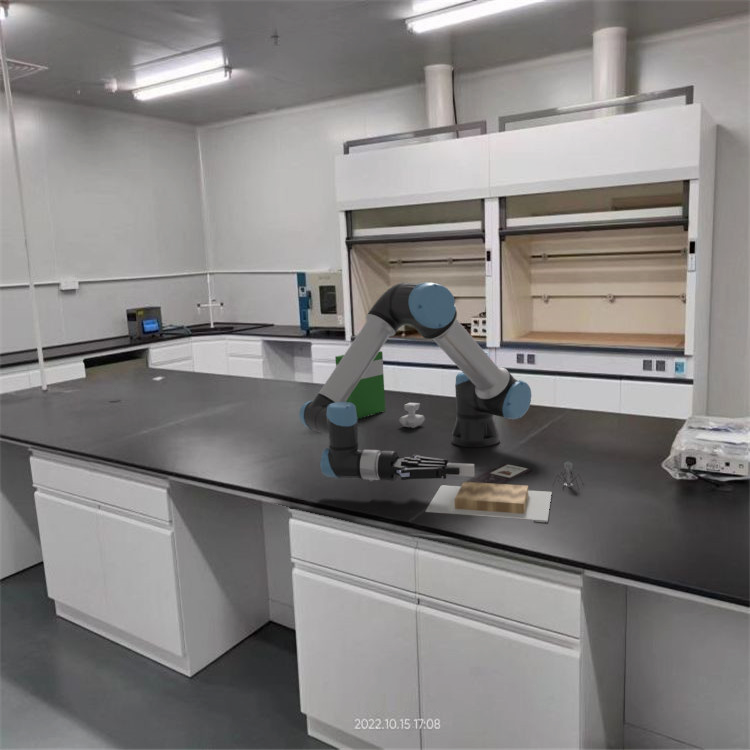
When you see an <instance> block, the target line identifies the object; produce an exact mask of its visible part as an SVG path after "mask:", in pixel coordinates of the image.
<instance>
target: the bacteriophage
mask: <svg viewBox="0 0 750 750" xmlns="http://www.w3.org/2000/svg"><path fill="white" fill-rule="evenodd" d="M563 468H564V469H566V471H564V473H563V472H562V471H560V473H559V474H557V475H556V478H555V480H554V482H553V483H552V486H554V484H555V483H556V480H557V478H558V480H557V482H559V481H560V479H561V480H562V481H563V485H564V486H563V487H562V490H564V487H565V486H566V487H565V488H571V487H570V486H573V485H574V484H573V482H574V480H575V482H576V485H577V489H578V491H580V488H579V485H578V481H577V477H578V476H580V474H579V473H578V474H577V476H574V474H573V471H571V470H572V469H573V463H572V462H570V461H566V462H564V466H563ZM565 474H566V477H565ZM561 476H562V477H563V478H562V477H561ZM573 476H574V477H573ZM571 478H572V480H571ZM579 478H580V481H581V482H582V485H583V486H584V485H585V484H584V483H583V480H582V478H581V477H579ZM567 486H568V487H567ZM573 487H574V486H573Z"/></svg>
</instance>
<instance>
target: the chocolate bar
mask: <svg viewBox="0 0 750 750" xmlns="http://www.w3.org/2000/svg"><path fill="white" fill-rule="evenodd" d="M532 472H533V469H531V468H526V467H521V466H517V465H512V464H507V463H502V464H500V465H499V466H496V467H493V468H491V469H489V470H487V471H486V472H483V473H481V474H478V475H477V476H474V477H472V478H471V479H469V480H467V481H466V482H476V483H493V484H508V483H509V482H511V481H513V480H515V479H517V478H518V477H521V476H522V475H528V474H530V473H532ZM527 473H528V474H527Z"/></svg>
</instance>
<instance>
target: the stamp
mask: <svg viewBox="0 0 750 750" xmlns="http://www.w3.org/2000/svg"><path fill="white" fill-rule="evenodd" d="M420 406H421V403H419V402H408V403H406V404H404V405H403V408H404V411H406V412H407V413H408V414H406V415H403V416H401V417H400V418H398V419H399V422H400V424H401V425H402V426H403V427H406V428H410V427H411V428H412V429H415V428H417V427H420V426H421V425H422V424H423V423H424V422H425V419H426V417H425V416H424V415H423V414H416V412H417V410H419V409H420Z"/></svg>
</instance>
